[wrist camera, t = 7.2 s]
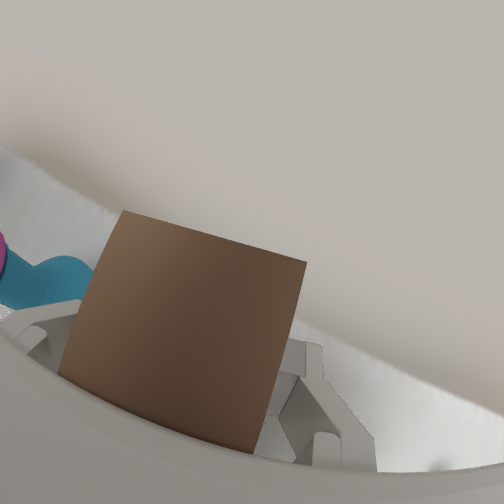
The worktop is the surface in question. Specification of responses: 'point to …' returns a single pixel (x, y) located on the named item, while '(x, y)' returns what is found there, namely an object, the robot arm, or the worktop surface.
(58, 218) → the worktop surface
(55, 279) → the perfume bottle
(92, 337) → the peg
